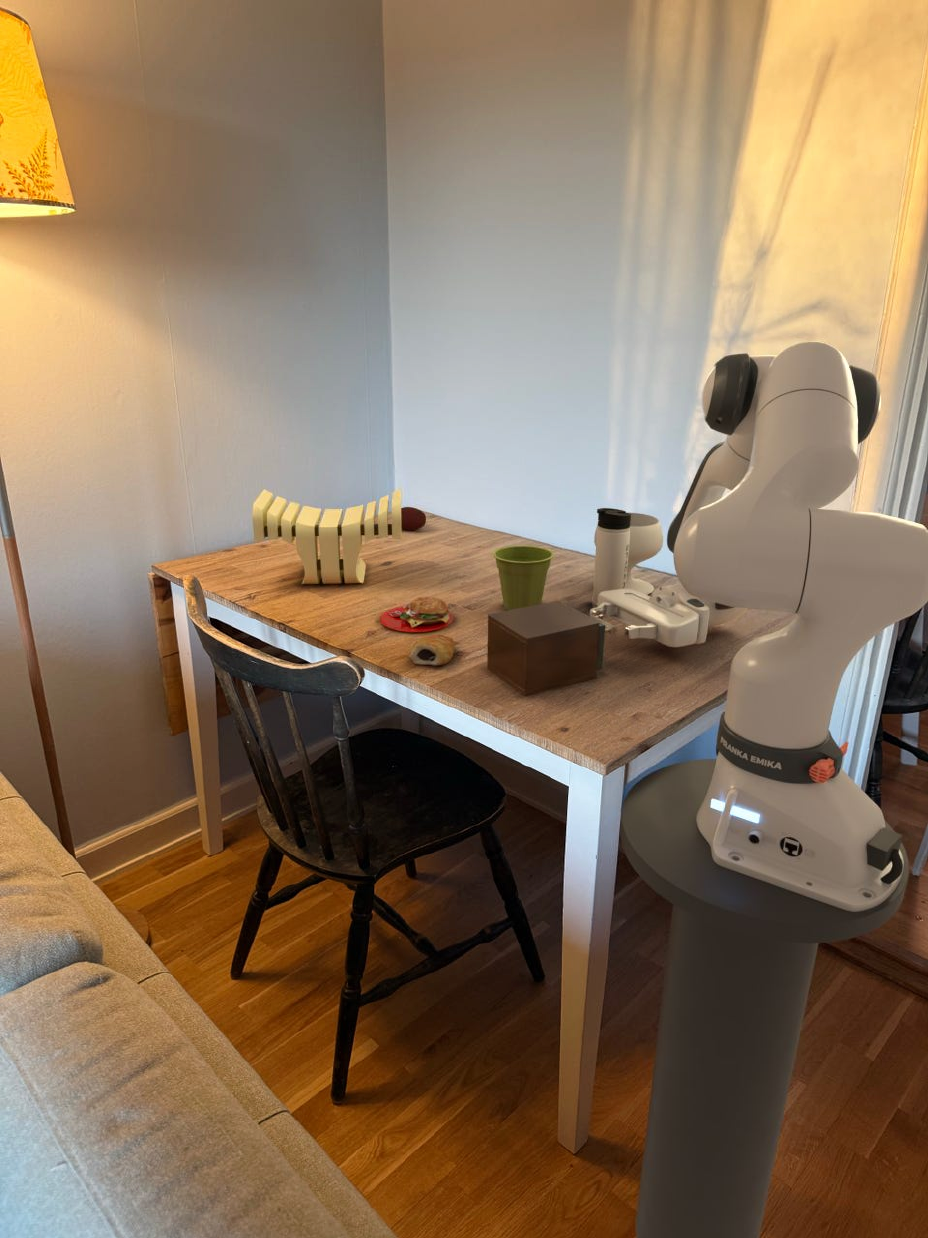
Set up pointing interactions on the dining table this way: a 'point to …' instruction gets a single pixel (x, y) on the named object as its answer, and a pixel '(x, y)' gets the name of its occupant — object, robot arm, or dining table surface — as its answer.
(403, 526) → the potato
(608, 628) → the drawer
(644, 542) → the chalice
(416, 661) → the pastry
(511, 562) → the plant pot
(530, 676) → the cabinet
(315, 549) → the slatted curved stool
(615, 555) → the travel mug
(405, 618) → the hamburger
